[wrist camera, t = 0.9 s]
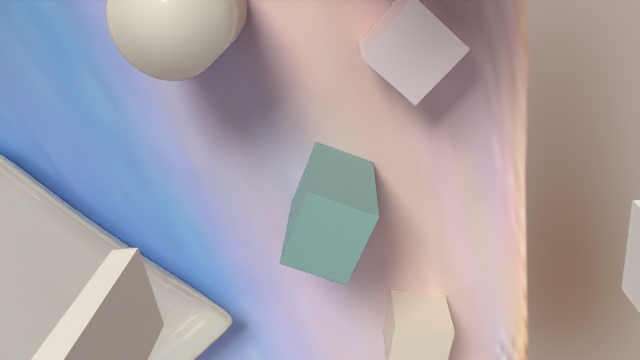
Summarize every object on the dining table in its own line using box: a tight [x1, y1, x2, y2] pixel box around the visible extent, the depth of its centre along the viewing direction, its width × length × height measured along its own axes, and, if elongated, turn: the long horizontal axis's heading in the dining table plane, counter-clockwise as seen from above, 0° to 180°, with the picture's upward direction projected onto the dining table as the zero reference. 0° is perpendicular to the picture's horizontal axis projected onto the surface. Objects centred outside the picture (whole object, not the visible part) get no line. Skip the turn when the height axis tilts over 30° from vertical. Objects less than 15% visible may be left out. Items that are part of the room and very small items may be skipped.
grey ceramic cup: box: [106, 0, 248, 81], centre depth 35 cm, size 7×7×8 cm
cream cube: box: [383, 290, 455, 360], centre depth 47 cm, size 5×5×5 cm
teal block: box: [280, 142, 379, 285], centre depth 40 cm, size 5×6×9 cm
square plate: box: [0, 154, 233, 360], centre depth 49 cm, size 27×27×4 cm
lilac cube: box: [359, 0, 470, 106], centre depth 36 cm, size 5×5×5 cm
